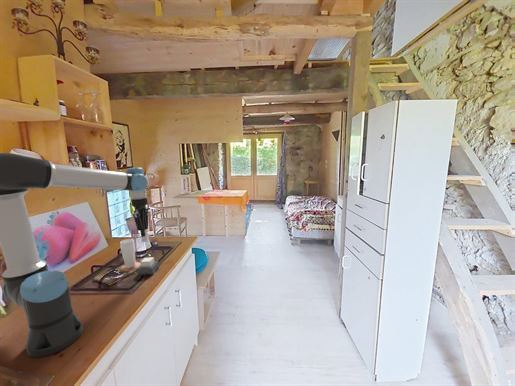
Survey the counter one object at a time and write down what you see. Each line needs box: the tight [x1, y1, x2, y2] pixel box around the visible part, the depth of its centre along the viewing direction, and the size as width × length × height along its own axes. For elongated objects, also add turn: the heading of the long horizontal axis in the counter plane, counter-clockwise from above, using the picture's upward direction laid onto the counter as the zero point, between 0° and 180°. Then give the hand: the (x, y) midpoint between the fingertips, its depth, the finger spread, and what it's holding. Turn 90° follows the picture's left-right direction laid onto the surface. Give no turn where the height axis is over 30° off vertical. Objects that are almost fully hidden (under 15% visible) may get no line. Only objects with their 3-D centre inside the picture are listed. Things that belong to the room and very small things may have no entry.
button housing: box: [136, 260, 160, 277], centre depth 131 cm, size 8×8×4 cm
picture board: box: [93, 260, 141, 285], centre depth 131 cm, size 22×13×1 cm, turn 151°
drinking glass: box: [119, 238, 137, 268], centre depth 134 cm, size 7×7×15 cm
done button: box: [140, 256, 155, 267], centre depth 130 cm, size 5×5×4 cm
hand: (145, 241), depth 128 cm, fingers closed
